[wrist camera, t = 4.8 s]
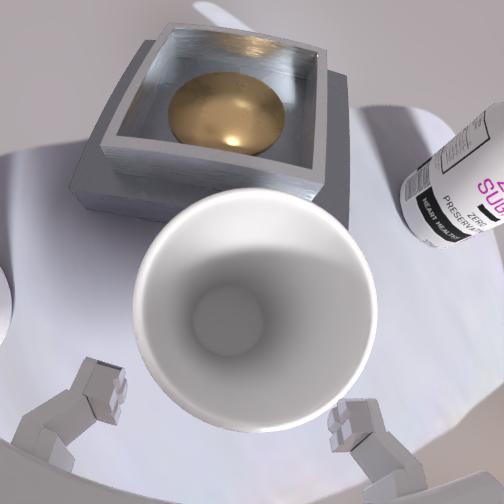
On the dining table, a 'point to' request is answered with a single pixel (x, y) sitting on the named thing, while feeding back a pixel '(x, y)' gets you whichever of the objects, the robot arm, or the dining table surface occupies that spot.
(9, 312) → the white bottle
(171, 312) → the drinking glass
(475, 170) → the supplement can
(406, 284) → the dining table surface
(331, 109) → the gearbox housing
